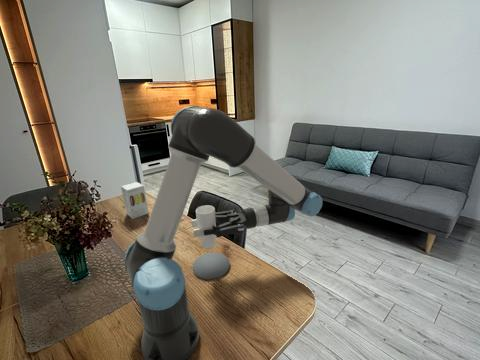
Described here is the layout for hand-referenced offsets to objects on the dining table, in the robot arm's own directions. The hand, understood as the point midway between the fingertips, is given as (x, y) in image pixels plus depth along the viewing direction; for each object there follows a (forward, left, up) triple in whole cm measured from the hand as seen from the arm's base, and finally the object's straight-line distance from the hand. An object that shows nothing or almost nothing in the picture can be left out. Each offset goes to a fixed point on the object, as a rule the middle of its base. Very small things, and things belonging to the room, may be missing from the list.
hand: (192, 228), depth 91 cm
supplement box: (+63, +11, -18) cm, 66 cm away
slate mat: (-1, -5, -18) cm, 19 cm away
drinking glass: (-1, -5, -8) cm, 10 cm away
